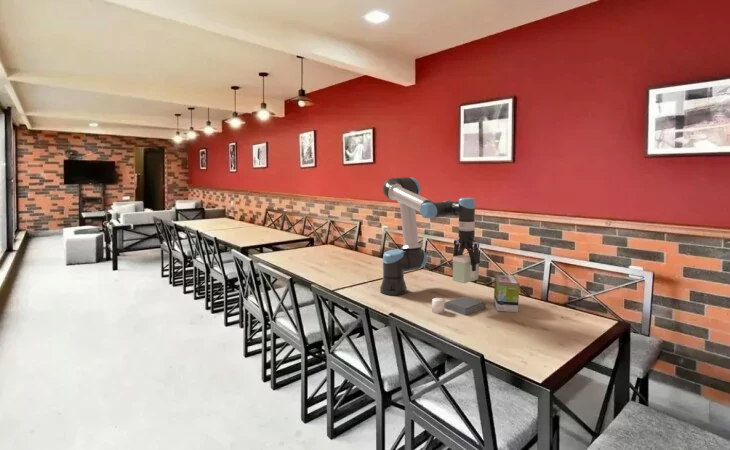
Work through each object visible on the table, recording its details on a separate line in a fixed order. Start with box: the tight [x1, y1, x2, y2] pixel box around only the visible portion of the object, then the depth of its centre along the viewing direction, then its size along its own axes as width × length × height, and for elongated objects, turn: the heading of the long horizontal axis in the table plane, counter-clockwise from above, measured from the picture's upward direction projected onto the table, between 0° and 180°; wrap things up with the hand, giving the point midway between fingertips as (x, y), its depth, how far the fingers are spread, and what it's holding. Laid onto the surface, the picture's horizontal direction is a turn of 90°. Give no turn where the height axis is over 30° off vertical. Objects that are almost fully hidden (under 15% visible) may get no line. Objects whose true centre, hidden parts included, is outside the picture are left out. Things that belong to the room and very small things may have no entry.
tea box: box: [493, 274, 520, 313], centre depth 198 cm, size 15×10×15 cm
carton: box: [452, 252, 480, 284], centre depth 195 cm, size 7×11×12 cm, turn 128°
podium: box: [445, 295, 486, 316], centre depth 198 cm, size 13×16×3 cm
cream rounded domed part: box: [431, 297, 446, 315], centre depth 193 cm, size 6×6×6 cm
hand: (465, 275), depth 195 cm, fingers closed on carton, 7 cm apart
